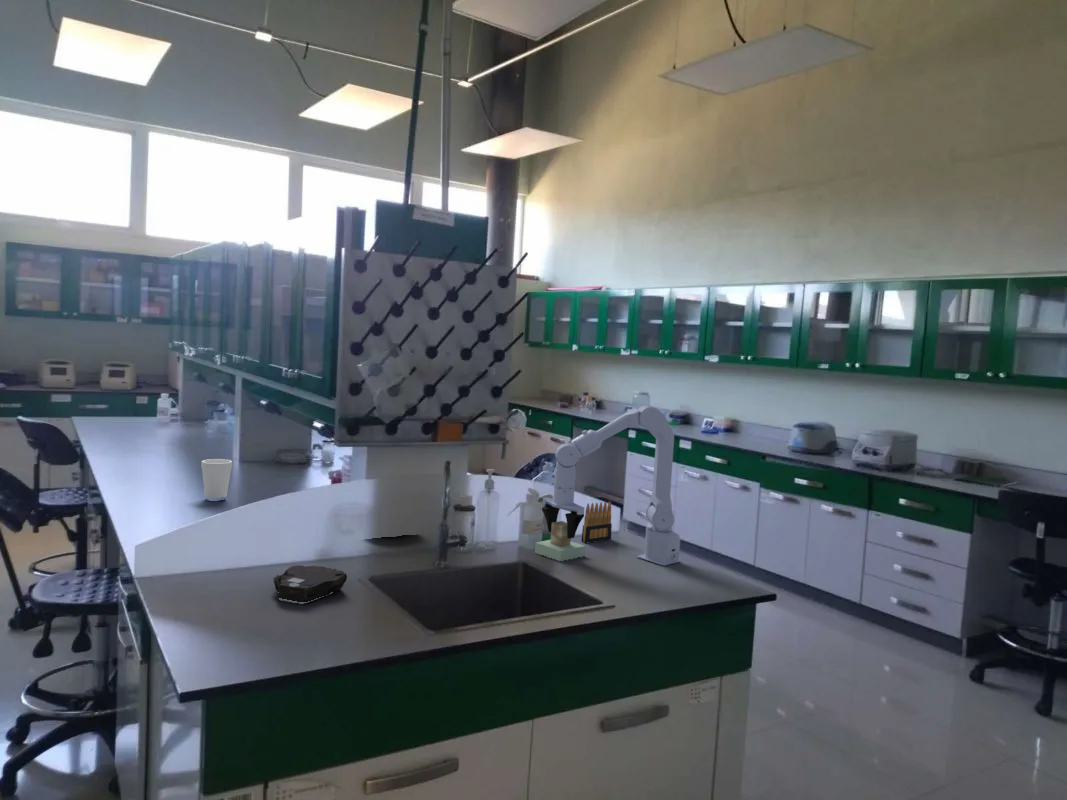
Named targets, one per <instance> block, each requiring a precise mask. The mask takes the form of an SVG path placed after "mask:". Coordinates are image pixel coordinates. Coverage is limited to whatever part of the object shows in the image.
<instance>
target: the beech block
mask: <svg viewBox="0 0 1067 800" xmlns="http://www.w3.org/2000/svg"><path fill="white" fill-rule="evenodd" d="M550 540H551V543H550V544H553V545H556V546H559V547H562V546H567V545H570V544H571V541H572V538H570V539H569V538H568V537H567V521H563V520H559V521H557V522H553V523H552V528H551V532H550Z"/></svg>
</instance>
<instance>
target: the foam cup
mask: <svg viewBox="0 0 1067 800" xmlns="http://www.w3.org/2000/svg"><path fill="white" fill-rule="evenodd" d="M200 464H201V465H200V466H201V467H200V468H201V470H202V471H201V472H202V482H203V490H204V498H205V497H208V498H221V497H226V496H227V495H228V490H229V484H230V479H231V474H232V473H231V472H232V469H233V461H232V460H230V459H224V458H211V459H210V458H209V459H204V460H201V463H200ZM226 498H227V497H226Z"/></svg>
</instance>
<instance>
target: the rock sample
mask: <svg viewBox="0 0 1067 800" xmlns="http://www.w3.org/2000/svg"><path fill="white" fill-rule="evenodd" d="M347 579H348V575H347V573H345V572H344V570H337V568H331V567H326V566H323V565H321V566H318V565H307V566H305V565H297V564H296V565H292V566H290V567H288V568H287V569H285V571H284V572H283V573H282V574H281V575H278V574H277V575H276V576H274V577H273V584H274V588H275V590H276V591H277V599H278V598H282V599H287V600H292V601H297V602H308V601H311V600H314V599H316V598H319V597H322V596H326V595H329V594H330V593H331V592H334V591H337V590H339V591H340V589H341V590H342V588H343V587H344V585H345V583H346V581H347ZM278 592H279V593H278ZM337 592H338V591H337Z"/></svg>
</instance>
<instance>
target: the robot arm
mask: <svg viewBox="0 0 1067 800" xmlns="http://www.w3.org/2000/svg"><path fill="white" fill-rule="evenodd" d="M640 426H641V427H642V428H644V429H645V430H647V431H648V432H649V433H650V434H651V435H652V436H653V437H654V438H655V450H654V451H655V452H654V465H653V466H654V467H653V479H652V493H651V495H650V499H649V505H648V506H647V507H646V510H645V516H646V519H647V520H648V522H647V524H646V526H645V538H644V553H642V554H639V555H637V558H639V559H640V560H641V559H642V560H644V561H648V562H651V563H654V564H657V565H661V566H668V565H671V564H677V563H679V562H681V559H680V550H681V549H680V548H681V536H680V534H678V533H676V532H674V531H673V526H674V523H675V515H674V514H673V509H672V508H673V504H672V499H671V492H672V490H671V489H672V488H671V487H672V486H671V485H672V474H673V473H672V471H673V460H674V459H673V458H674V446H675V432H674V430H673V429H672V427H671V424H670V423H669V422H668V419H667V417H666V415H665V414H664V413H663V412H662V411H660V410H659V409H658V408H657V407H654V406H652V405H649V404H644V403H643V404H640V405H639V406H637V407H636V408H631V409H630V410H628V411H626V412H624V413H622V414H621V415H620V416H618V417H617V418H615V419H613V420H612V421H610V422H609V423H607V424H606V425H604V426H603V427H601V428H599V429H598V430H593V429H589V430H587V429H585V430H583V431H581V434H580V435H578V436H577V437H575V438H572V439H568V440H567V443H563V444H562V443H561V445H559V446H558V447H557V449H556V451H555V453H554V456H555V457H554V458H556V463H555V471H554V483H553V486H554V487H553V498H551V497H543V498H542V505H544V506H542V507H541V511H542V513H543V515H544V518H545V520H546V525H547V531H548V533H551V528H552V523H553V522H558V515H559V513H560V510H562V511H563V510H564V511H565V512H566V511H567V513H564V514H565V518H566V522H567V537H568V538H569V539H570V538H571V539H574V538H575V536H576V532H577V530H578V528H579V525H580V523H581V521H582V520H583V518H585V507H584V506H582V505H579V504H577V503H575V501H574V499H575V488H576V487H575V485H576V473H577V472H576V465H577V463H578V461H579V459H583V458H584V457H587V456H588V455H590V454H592V453H593V452H595V451H596V450H598V449H600V448H601V446H602V443H603V442H604V441H605V440H607V439H608V438H611V437H612V436H614V435H616V434H618V433H621V432H622V431H625V430H626V429H627V428H630V429H640ZM568 512H569V513H568Z"/></svg>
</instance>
